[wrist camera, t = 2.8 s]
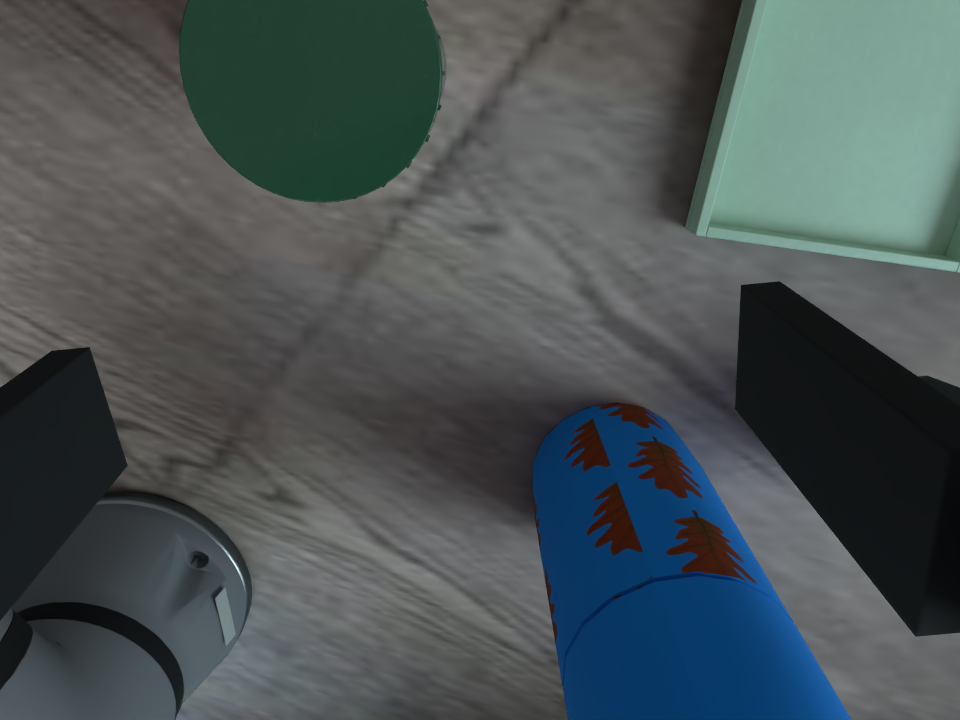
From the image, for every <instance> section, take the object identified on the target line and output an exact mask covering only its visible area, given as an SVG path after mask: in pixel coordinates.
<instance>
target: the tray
mask: <svg viewBox="0 0 960 720" xmlns="http://www.w3.org/2000/svg"><path fill="white" fill-rule="evenodd" d="M685 228H686V229H688V230H689V231H690V232H692V233H693V234H694V235H696V236H703V237H705V236H706V237H710V238H717V239H724V240H732V241H739V242H746V243H753V244H760V245H767V246H775V247H782V248H789V249H796V250H803V251H810V252H817V253H825V254H832V255H839V256H846V257H853V258H860V259H867V260H875V261H882V262H889V263H896V264H903V265H910V266H917V267H925V268H932V269H939V270H946V271H953V272H960V0H742V3H741V7H740V11H739V15H738V19H737V23H736V27H735V31H734V35H733V39H732V43H731V47H730V51H729V55H728V59H727V63H726V67H725V70H724V74H723V78H722V82H721V86H720V90H719V94H718V98H717V102H716V106H715V110H714V114H713V118H712V122H711V126H710V130H709V134H708V138H707V142H706V146H705V150H704V154H703V158H702V162H701V166H700V170H699V174H698V178H697V182H696V185H695V189H694V193H693V197H692V201H691V205H690V209H689V213H688V217H687V221H686V225H685Z"/></svg>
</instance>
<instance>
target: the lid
mask: <svg viewBox="0 0 960 720" xmlns="http://www.w3.org/2000/svg"><path fill="white" fill-rule="evenodd" d="M427 6H428V4H427V2H426V1H425V0H424V1H422V0H188V3H187V6H186V9H185V12H184V16H183V21H182V27H181V32H180V48H179V55H180V69H181V75H182V80H183V85H184V90H185V93H186V96H187V99H188V102H189V105H190V108H191V110H192V112H193V114H194V117H195V119H196V121H197V123H198V125H199V126H200V128H201V130H202V131H203V133H204V135H205V136H206V138H207V139H208V141H209V142H210V143H211V145H212V146H213V147H214V149H215V150H216V151H217V152H218V154H219V155H220V156H221V157H222V158H223V159H224V160H225V161H226V162H227V163H228V164H229V165H230V166H231V167H233V168H234V169H235V170H236V171H237V172H239V173H240V174H241V175H242V176H244V177H245V178H247V179H248V180H250V181H251V182H253V183H255V184H256V185H258V186H260V187H262V188H264V189H266V190H268V191H270V192H272V193H275V194H278V195H280V196H283V197H286V198H290V199H294V200H299V201H304V202H317V203H326V202H339V201H344V200H349V199H356V198H357V197H359V196H362V195H365V194H368V193H370V192H372V191H374V190H376V189H378V188H380V187H384V186H385V185H386V184H387V183H388V182H389V181H390V180H392V179H393V178H395V177H396V176H397V175H398V174H399V173H400V172H401V171H402V170H404V169H405V168H406V167H407V168H408V167H409V166H410V164H411V162H412V160H413V158H414V157H415V156H416V155H417V153H418V152H419V150H420V148H421V147H422V145H423V144H424V142H425V141H426V142H428V140H429V137H430V135H428V134H429V132H430V130H431V127H432V125H433V123H434V120H435V117H436V114H437V110H440V109H441V105H439V103H440V97H441V91H442V77H443V75H445V71H443V70H442V56H441V50H440V45H439V40H441V38H440V36H439V35H438V36H437V33H436V30H435V27H434V24H433V21H432V19H431V17H430V14H429V12H428V10H427V8H426V7H427Z"/></svg>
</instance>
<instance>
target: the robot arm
mask: <svg viewBox="0 0 960 720" xmlns="http://www.w3.org/2000/svg"><path fill="white" fill-rule="evenodd" d="M735 409H736V411H737V412H738V413H739V414H740V416H741V417H742V418H743V419H744V421H745V422H746V423H747V424H748V426H749V427H750V428H751V429H752V431H753V432H754V433H755V435H756V436H757V437H758V438H759V440H760V441H761V442H762V443H763V445H764V446H765V447H766V448H767V450H768V451H769V452H770V453H771V455H772V456H773V457H774V458H775V460H776V461H777V462H778V464H779V465H780V466H781V467H782V469H783V470H784V471H785V472H786V474H787V475H788V476H789V477H790V479H791V480H792V481H793V482H794V484H795V485H796V486H797V488H798V489H799V490H800V491H801V493H802V494H803V495H804V496H805V498H806V499H807V500H808V501H809V503H810V504H811V505H812V506H813V508H814V509H815V510H816V511H817V513H818V514H819V515H820V517H821V518H822V519H823V520H824V522H825V523H826V524H827V525H828V527H829V528H830V529H831V530H832V532H833V533H834V534H835V535H836V537H837V538H838V539H839V540H840V542H841V543H842V544H843V546H844V547H845V548H846V549H847V551H848V552H849V553H850V554H851V556H852V557H853V558H854V559H855V561H856V562H857V563H858V564H859V566H860V567H861V568H862V570H863V571H864V572H865V573H866V575H867V576H868V577H869V578H870V580H871V581H872V582H873V583H874V585H875V586H876V587H877V588H878V590H879V591H880V592H881V593H882V595H883V596H884V597H885V599H886V600H887V601H888V602H889V604H890V605H891V606H892V607H893V609H894V610H895V611H896V612H897V614H898V615H899V616H900V617H901V619H902V620H903V621H904V622H905V624H906V625H907V626H908V628H909V629H910V630H911V631H912V633H913V634H914V635H915V636H927V635H938V634H949V633H960V388H959V387H957V386H954V385H951V384H948V383H946V382H943V381H940V380H937V379H935V378H932V377H929V376H919V377H917V376H916V375H914V374H913V373H912V372H910V371H909V370H907V369H906V368H904V367H903V366H901V365H900V364H898V363H897V362H896V361H894V360H893V359H891V358H890V357H888V356H887V355H885V354H884V353H882V352H881V351H880V350H878V349H877V348H875V347H874V346H872V345H871V344H869V343H868V342H867V341H865V340H864V339H862V338H861V337H859V336H858V335H856V334H855V333H853V332H852V331H851V330H849V329H848V328H846V327H845V326H843V325H842V324H840V323H839V322H838V321H836V320H835V319H833V318H832V317H830V316H829V315H827V314H826V313H824V312H823V311H822V310H820V309H819V308H817V307H816V306H814V305H813V304H811V303H810V302H808V301H807V300H806V299H804V298H803V297H801V296H800V295H798V294H797V293H795V292H794V291H793V290H791V289H790V288H788V287H787V286H785V285H784V284H782V283H781V282H769V283H759V284H748V285H741V298H740V318H739V339H738V359H737V380H736V400H735ZM127 466H128V465H127V462H126V459H125V456H124V453H123V450H122V447H121V444H120V441H119V437H118V434H117V431H116V428H115V425H114V422H113V419H112V416H111V412H110V409H109V406H108V403H107V400H106V397H105V394H104V391H103V388H102V384H101V381H100V378H99V375H98V372H97V369H96V366H95V363H94V359H93V356H92V353H91V350H90V347H87V348H77V349H66V350H56V351H51V352H50V353H48V354H47V355H45V356H44V357H43V358H41V359H40V360H38V361H37V362H36V363H34V364H33V365H31V366H30V367H29V368H27V369H26V370H24V371H23V372H22V373H20V374H19V375H17V376H16V377H15V378H13V379H12V380H10V381H9V382H8V383H6V384H5V385H3V386H2V387H1V388H0V720H175V718H176V716H177V714H178V711H179V709H180V707H181V705H182V703H183V702H184V701H185V700H186V699H187V698H188V697H189V696H190V695H191V694H192V693H193V691H194V690H195V689H196V688H197V687H198V686H199V685H200V684H201V683H202V682H203V681H204V680H205V679H206V678H207V677H208V675H209V674H210V673H211V672H212V671H213V670H214V669H215V668H216V667H217V666H218V664H220V662H221V661H222V660H223V659H224V658H225V657H226V656H227V655H228V653H229V652H230V651H231V649H232V647H233V646H234V644H235V643H236V641H237V639H238V638H239V636H240V634H241V632H242V630H243V627H244V624H245V622H246V619H247V616H248V614H249V611H250V606H251V599H252V586H251V579H250V575H249V572H248V568H247V566H246V563H245V561H244V559H243V557H242V555H241V554H240V552H239V550H238V549H237V547H236V546H235V544H234V543H233V542H232V541H231V540H230V538H229V537H228V536H227V535H226V534H225V533H224V532H223V531H222V530H221V529H220V528H219V527H218V526H216V525H215V524H214V523H213V522H211V521H210V520H209V519H207V518H206V517H204V516H203V515H201V514H200V513H198V512H196V511H195V510H193V509H191V508H189V507H187V506H185V505H182V504H180V503H177V502H175V501H172V500H169V499H166V498H162V497H158V496H154V495H149V494H142V493H132V492H115V493H105V492H106V491H107V490H108V489H109V488H110V486H111V485H112V484H113V483H114V481H115V480H116V479H117V478H118V477H119V475H120V474H121V473H122V472H123V471H124V469H125V468H126V467H127Z"/></svg>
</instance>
